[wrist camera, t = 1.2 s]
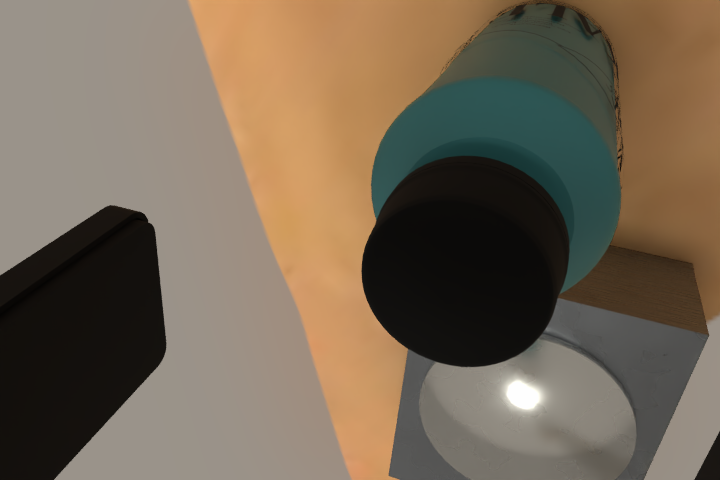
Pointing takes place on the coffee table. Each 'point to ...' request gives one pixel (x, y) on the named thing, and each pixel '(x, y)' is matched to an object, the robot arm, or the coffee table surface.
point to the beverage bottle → (496, 189)
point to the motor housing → (563, 385)
